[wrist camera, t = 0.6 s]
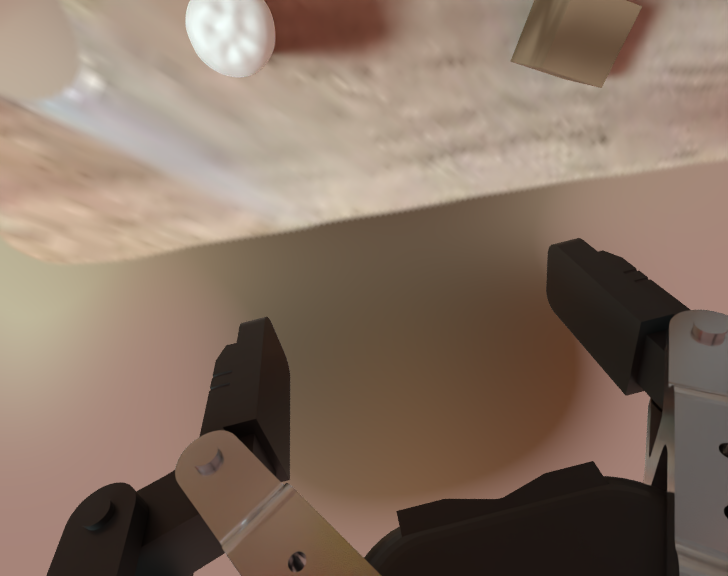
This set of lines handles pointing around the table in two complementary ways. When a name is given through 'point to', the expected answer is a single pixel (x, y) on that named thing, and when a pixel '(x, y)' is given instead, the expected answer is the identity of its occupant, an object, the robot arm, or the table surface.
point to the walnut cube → (575, 37)
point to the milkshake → (231, 34)
